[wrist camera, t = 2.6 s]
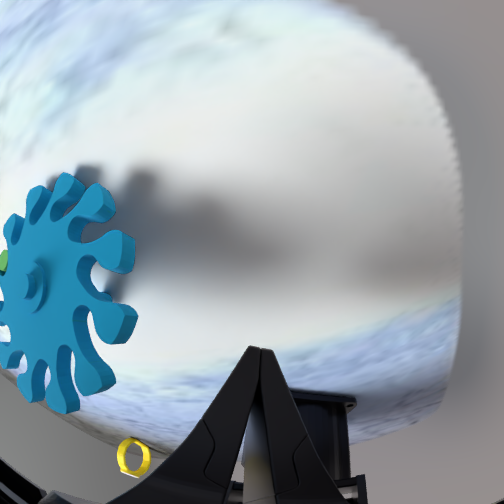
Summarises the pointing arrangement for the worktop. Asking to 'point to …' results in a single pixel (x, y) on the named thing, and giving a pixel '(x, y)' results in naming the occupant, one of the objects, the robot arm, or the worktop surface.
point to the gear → (62, 293)
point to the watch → (122, 462)
